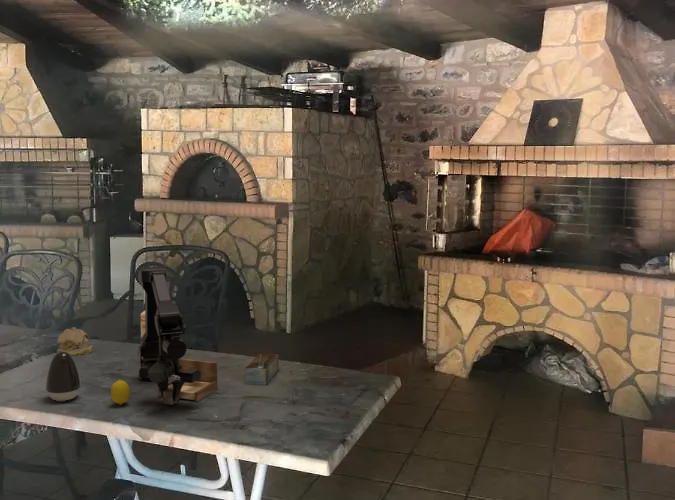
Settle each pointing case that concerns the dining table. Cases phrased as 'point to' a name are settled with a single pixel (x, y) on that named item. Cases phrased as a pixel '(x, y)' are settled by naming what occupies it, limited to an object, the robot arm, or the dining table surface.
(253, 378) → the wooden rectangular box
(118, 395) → the lemon
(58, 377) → the brown tapered dome
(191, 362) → the open wooden box
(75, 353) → the ceramic model
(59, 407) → the dining table surface
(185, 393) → the wooden drawer
